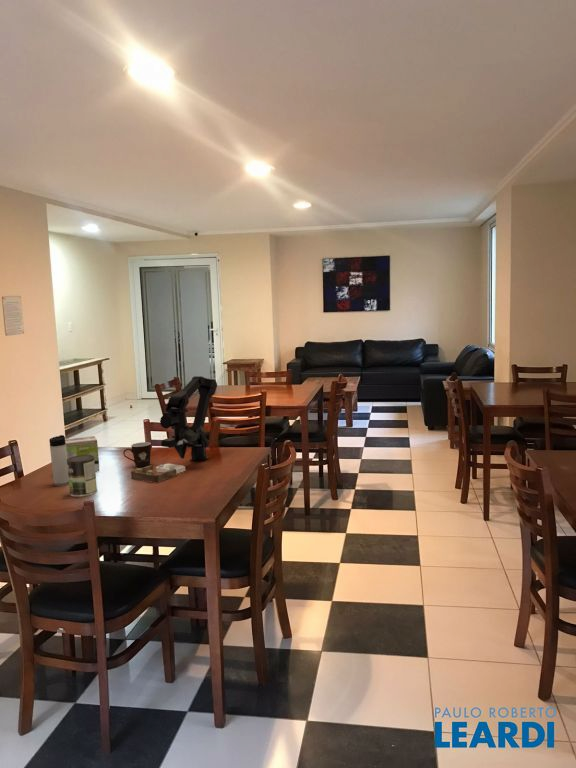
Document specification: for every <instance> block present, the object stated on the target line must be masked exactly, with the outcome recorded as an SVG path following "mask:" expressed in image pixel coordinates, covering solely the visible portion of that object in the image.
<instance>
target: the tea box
mask: <svg viewBox="0 0 576 768" xmlns="http://www.w3.org/2000/svg"><path fill="white" fill-rule="evenodd" d="M65 442H66V450H67V459H68V458H70V457H74V456H79V455H93V456H94V463H95V473H97V472H96V471H99V472H100V459H99V445H98V439H97V438H96V436H94V435H92V436H84V437H83V436H82V437H75V438H67V439H66V438H65Z"/></svg>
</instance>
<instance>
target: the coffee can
mask: <svg viewBox="0 0 576 768" xmlns="http://www.w3.org/2000/svg"><path fill="white" fill-rule="evenodd" d="M67 466H68V475H69V484H68V485H69V494H70V496H71V497H74V498H76V497H77V498H81V497H82V498H83V497H88V496H92V495H94V494H96V493H98V487H97V477H96V475H97V474H96V472H95V463H94V456H93V455H79V456H74V457H70V458H68V459H67Z"/></svg>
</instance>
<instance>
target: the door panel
mask: <svg viewBox="0 0 576 768" xmlns="http://www.w3.org/2000/svg"><path fill="white" fill-rule="evenodd" d="M172 469H176V474H177V473H179V474H181V473H180V472H182V473H184V472H183V471H185V472H186V466H184V465H179V464H174V463H164V464H163V463H162V464H159V465H157V466H156V467H155V472H156V471H157V472H156V473H158V472H166V471H169V470H172ZM177 475H178V474H177Z"/></svg>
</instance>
